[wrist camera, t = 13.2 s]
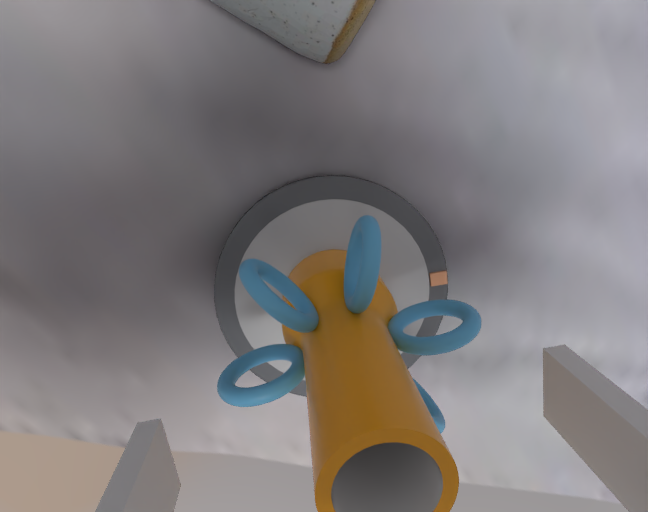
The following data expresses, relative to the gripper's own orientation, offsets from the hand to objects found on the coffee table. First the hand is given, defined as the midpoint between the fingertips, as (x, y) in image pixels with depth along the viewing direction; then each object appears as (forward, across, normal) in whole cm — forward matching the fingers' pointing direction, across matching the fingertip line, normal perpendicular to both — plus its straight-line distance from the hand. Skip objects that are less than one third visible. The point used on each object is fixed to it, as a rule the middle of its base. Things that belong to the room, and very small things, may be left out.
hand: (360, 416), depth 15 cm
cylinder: (+12, 0, 0) cm, 12 cm away
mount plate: (+13, 0, 0) cm, 13 cm away
